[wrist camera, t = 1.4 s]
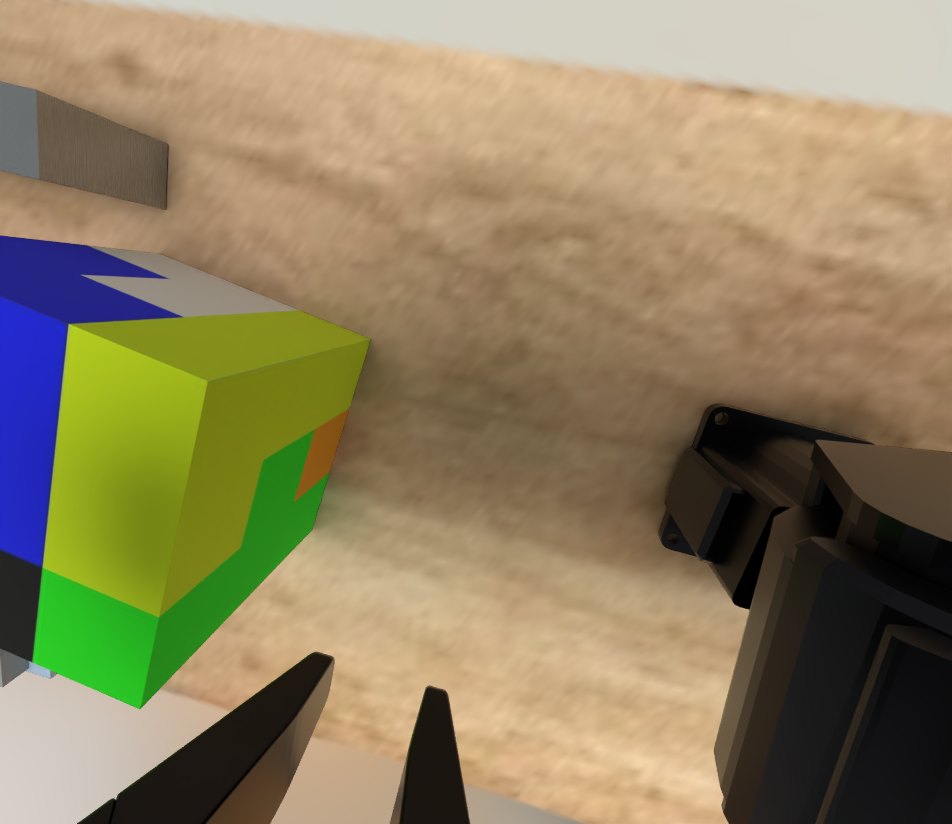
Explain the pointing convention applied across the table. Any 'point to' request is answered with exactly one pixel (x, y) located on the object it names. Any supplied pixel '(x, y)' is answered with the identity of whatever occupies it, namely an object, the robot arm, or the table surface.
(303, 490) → the puzzle toy
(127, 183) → the grey rail base
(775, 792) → the robot arm
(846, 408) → the table surface
